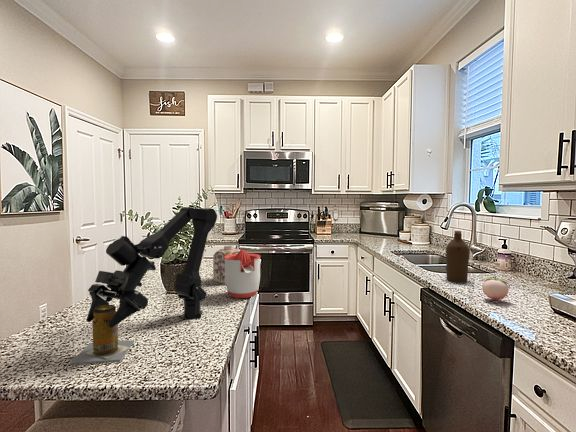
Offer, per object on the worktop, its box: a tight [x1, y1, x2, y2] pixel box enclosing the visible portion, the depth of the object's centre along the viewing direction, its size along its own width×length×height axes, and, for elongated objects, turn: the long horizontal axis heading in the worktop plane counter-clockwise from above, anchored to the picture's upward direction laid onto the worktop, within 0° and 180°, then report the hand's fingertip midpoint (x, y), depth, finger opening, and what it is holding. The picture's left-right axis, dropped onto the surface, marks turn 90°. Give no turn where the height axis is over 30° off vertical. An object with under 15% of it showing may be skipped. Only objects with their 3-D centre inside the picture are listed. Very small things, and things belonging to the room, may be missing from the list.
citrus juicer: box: [224, 248, 261, 299], centre depth 145 cm, size 16×17×20 cm
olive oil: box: [445, 230, 470, 283], centre depth 170 cm, size 11×11×25 cm
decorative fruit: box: [481, 276, 510, 302], centre depth 136 cm, size 9×8×10 cm
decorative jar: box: [212, 244, 241, 285], centre depth 170 cm, size 12×12×18 cm
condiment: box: [86, 304, 131, 358], centre depth 91 cm, size 7×8×12 cm
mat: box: [69, 339, 135, 366], centre depth 92 cm, size 12×12×1 cm
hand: (98, 324), depth 90 cm, fingers open, 9 cm apart
